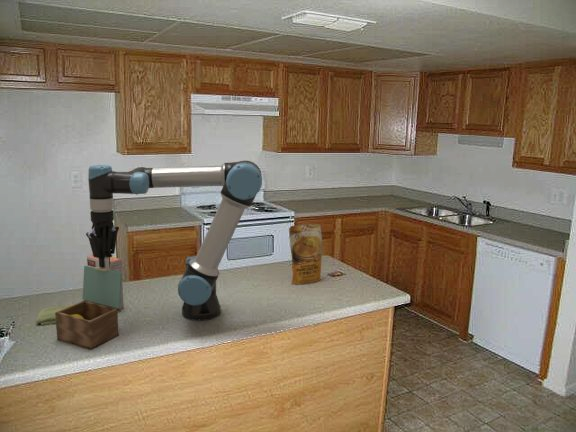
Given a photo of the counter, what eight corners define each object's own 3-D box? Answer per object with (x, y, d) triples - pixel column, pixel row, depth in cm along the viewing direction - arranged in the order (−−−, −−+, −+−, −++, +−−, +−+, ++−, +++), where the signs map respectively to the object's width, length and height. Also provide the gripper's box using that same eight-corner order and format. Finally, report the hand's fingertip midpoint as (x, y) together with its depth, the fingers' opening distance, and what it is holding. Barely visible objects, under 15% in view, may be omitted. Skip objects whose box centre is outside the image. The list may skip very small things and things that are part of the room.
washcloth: (39, 314, 182) (38, 306, 181) (88, 308, 188) (88, 300, 188) (35, 328, 170) (35, 319, 169) (88, 321, 177) (88, 313, 176)
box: (122, 334, 166) (121, 308, 164) (92, 350, 154) (91, 322, 152) (86, 324, 173) (85, 299, 171) (56, 339, 161) (53, 312, 159)
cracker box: (89, 305, 190) (86, 255, 186) (101, 300, 195) (99, 252, 191) (111, 313, 183) (108, 262, 179) (124, 308, 188) (121, 258, 184)
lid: (115, 309, 161) (120, 308, 163) (117, 272, 160) (122, 271, 162) (79, 300, 168) (84, 299, 170) (81, 264, 167) (85, 264, 169)
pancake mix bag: (284, 282, 224) (285, 224, 218) (318, 276, 232) (320, 221, 227) (290, 286, 218) (292, 228, 212) (325, 281, 227) (328, 224, 221)
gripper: (108, 206, 169) (111, 268, 174) (78, 211, 158) (82, 278, 163) (124, 208, 166) (126, 271, 171) (95, 214, 155) (98, 282, 159)
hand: (105, 274), depth 167 cm, fingers closed
